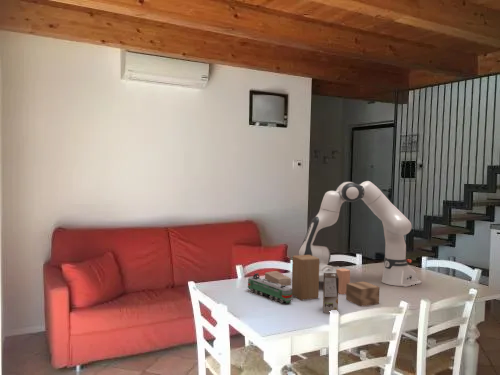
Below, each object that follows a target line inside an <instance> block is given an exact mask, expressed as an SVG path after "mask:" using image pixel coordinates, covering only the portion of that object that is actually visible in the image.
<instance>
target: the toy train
mask: <svg viewBox="0 0 500 375" xmlns="http://www.w3.org/2000/svg"><path fill="white" fill-rule="evenodd" d="M260 277H261V276H260V275H259V272H257V273H254V274H253V275H252V276H249V277H248V278H247V280H248V281H247V288H248V290H250V292H251V293H255V294H256V295H258V294H259V296H263V295H264V296H265V297H269V299H270V300H273V299H274V301H275V302H280V304H283V303H286V304H289V303H291V302H292V301H293V295H292V287H289V286H286V285H284V286H283V285H281V284H278V283H274V282H271V281H268V280H266V279H265V278H260Z"/></svg>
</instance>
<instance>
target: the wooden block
mask: <svg viewBox="0 0 500 375" xmlns="http://www.w3.org/2000/svg"><path fill="white" fill-rule="evenodd" d="M291 265H292V270H291V272H292V274H291V275H292V278H291V289H292V296H293V297H295V298H297V299H299V300H300V301H304V300H305V301H306V300H312V299H313V300H314V299H319V285H320V284H319V283H320V281H319V258H317V257H314V256H311V255H297V254H296V255H293V256H292V264H291Z"/></svg>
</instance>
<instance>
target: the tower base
mask: <svg viewBox="0 0 500 375" xmlns="http://www.w3.org/2000/svg"><path fill="white" fill-rule="evenodd" d="M345 297H346V298H345V300H346V301H349V302H351V303H352V304H355V305H357V306H360V307H364V306H370V305H378V304H380V286H378V285H375V284H372V283H370V282H367V281H365V280H364V281H357V282H350V283H347V285H346V294H345Z"/></svg>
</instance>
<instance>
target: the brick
mask: <svg viewBox="0 0 500 375" xmlns="http://www.w3.org/2000/svg"><path fill="white" fill-rule="evenodd" d="M264 279H266V280H268V281H271V282H274V283H278V284H281V285H283V286H284V285H286V287H289V286H292V278H291V277H289V276H287V275H284V274H282V273H281V272H280V271H277V270H274V271H272V270H271V271H268V272H265V273H264Z"/></svg>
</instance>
